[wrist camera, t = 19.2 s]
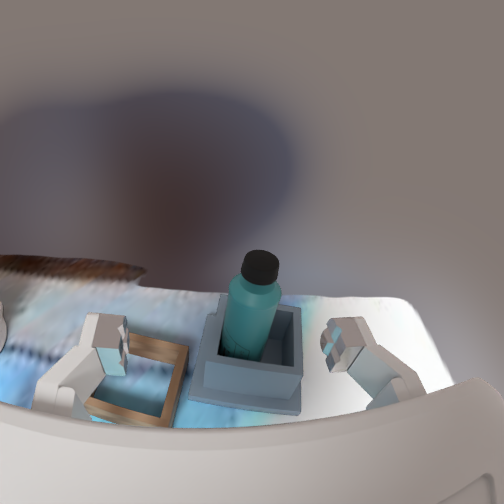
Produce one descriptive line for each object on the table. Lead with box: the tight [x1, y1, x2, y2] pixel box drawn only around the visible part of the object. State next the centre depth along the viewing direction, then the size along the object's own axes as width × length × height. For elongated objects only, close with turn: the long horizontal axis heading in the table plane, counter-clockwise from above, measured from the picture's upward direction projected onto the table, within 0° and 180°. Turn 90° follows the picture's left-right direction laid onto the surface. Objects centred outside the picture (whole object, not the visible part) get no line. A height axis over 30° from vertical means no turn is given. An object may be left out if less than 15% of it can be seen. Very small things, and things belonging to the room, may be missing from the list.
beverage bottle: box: [219, 250, 281, 362], centre depth 40 cm, size 6×7×20 cm
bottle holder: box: [188, 294, 303, 416], centre depth 44 cm, size 16×16×8 cm
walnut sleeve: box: [83, 332, 189, 428], centre depth 39 cm, size 13×13×4 cm
